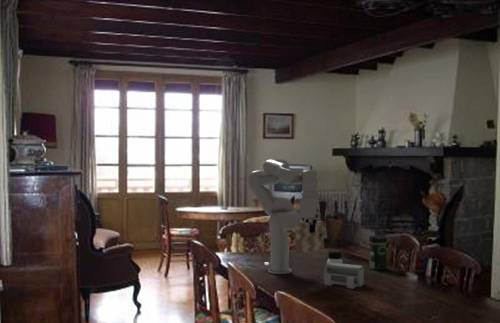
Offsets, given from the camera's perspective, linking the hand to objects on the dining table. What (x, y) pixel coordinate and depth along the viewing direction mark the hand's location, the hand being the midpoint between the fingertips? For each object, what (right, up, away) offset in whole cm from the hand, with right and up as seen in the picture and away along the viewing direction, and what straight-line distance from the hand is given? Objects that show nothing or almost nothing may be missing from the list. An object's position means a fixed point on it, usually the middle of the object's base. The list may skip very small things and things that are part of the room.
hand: (310, 231), depth 261 cm
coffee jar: (+41, -25, +31) cm, 57 cm away
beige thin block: (0, -9, 0) cm, 9 cm away
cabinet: (+15, -25, -5) cm, 29 cm away
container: (+14, -25, +13) cm, 31 cm away
